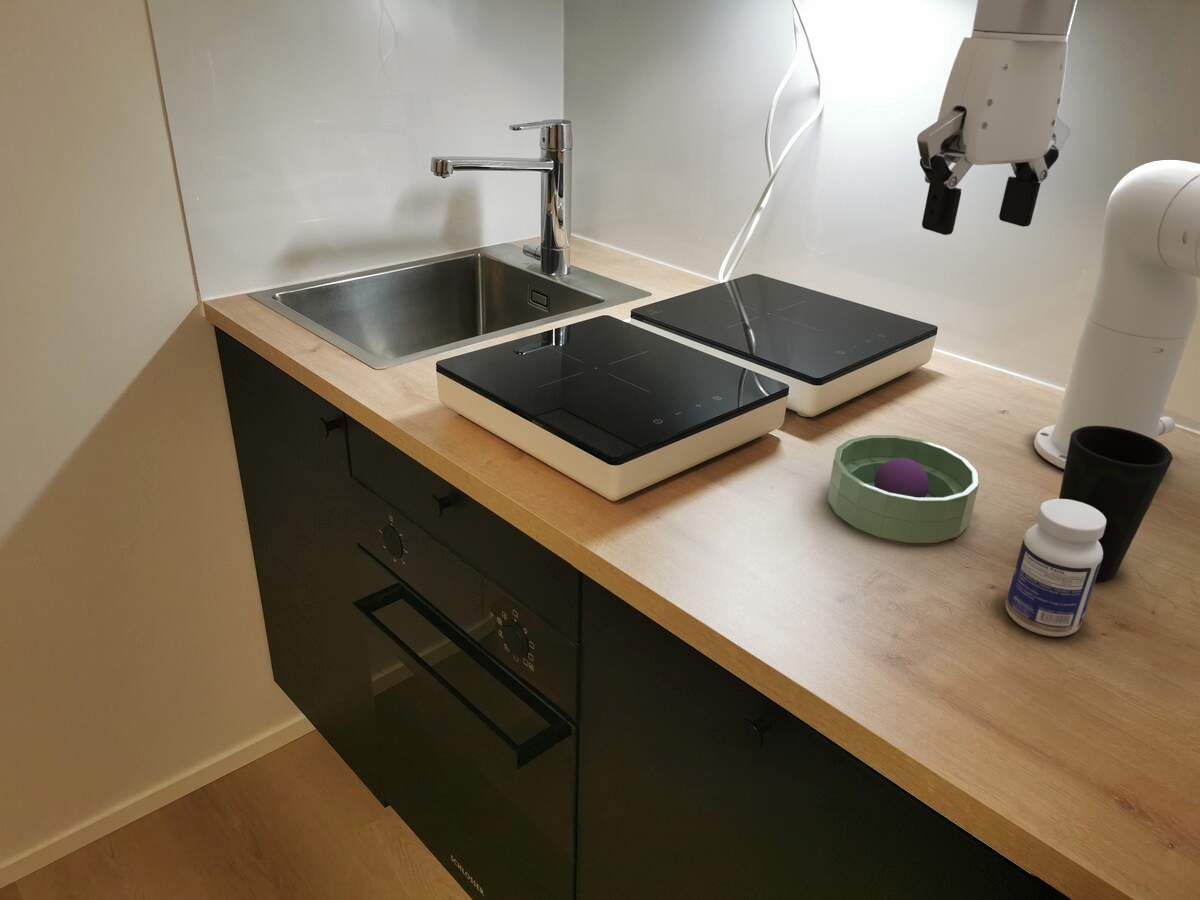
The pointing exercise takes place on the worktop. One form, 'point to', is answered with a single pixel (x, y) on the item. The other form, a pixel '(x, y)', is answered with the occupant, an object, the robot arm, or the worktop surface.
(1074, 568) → the pill bottle
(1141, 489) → the cup
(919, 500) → the bowl
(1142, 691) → the worktop surface
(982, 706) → the worktop surface
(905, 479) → the ball
